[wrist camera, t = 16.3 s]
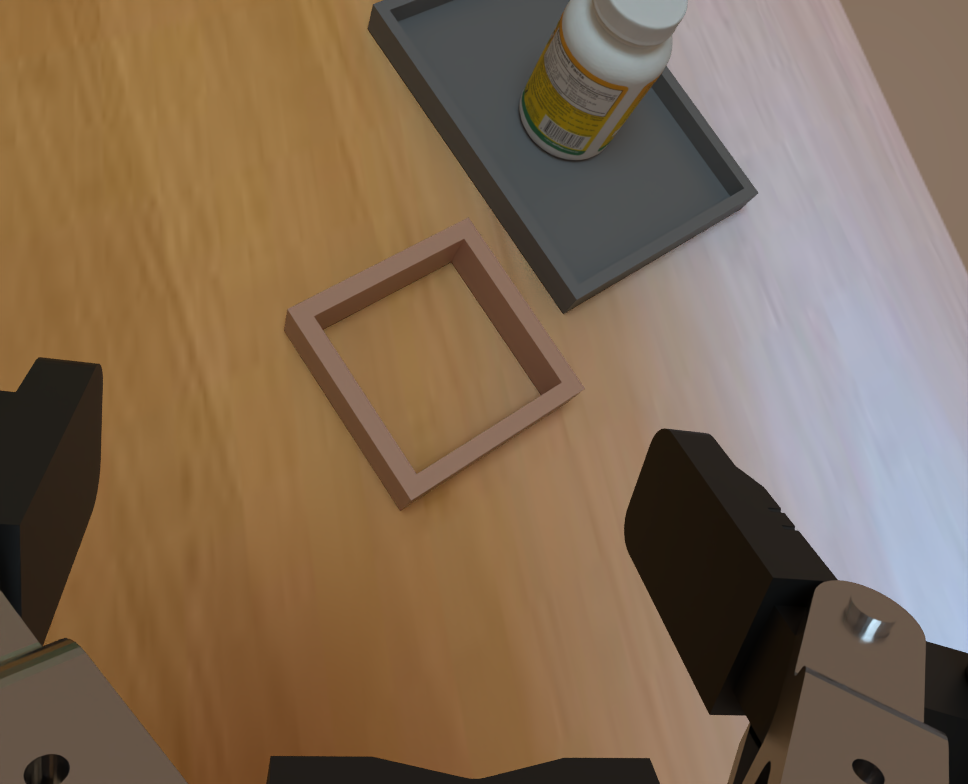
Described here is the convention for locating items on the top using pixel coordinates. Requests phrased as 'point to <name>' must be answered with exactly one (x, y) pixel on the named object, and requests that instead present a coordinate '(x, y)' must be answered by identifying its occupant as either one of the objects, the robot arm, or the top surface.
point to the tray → (542, 176)
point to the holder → (501, 308)
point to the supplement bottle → (596, 72)
